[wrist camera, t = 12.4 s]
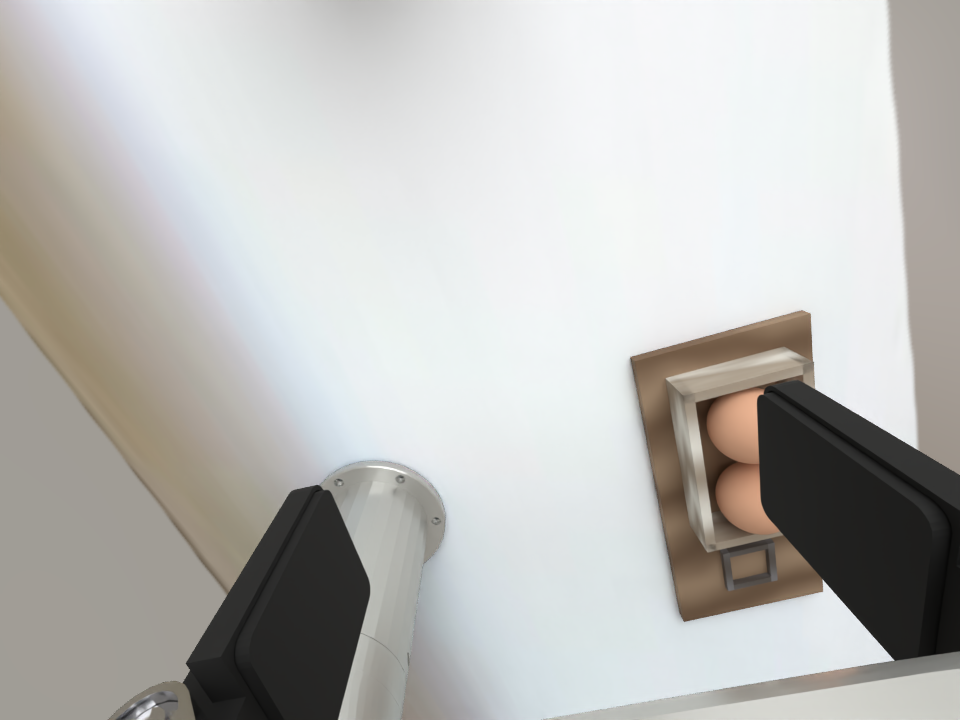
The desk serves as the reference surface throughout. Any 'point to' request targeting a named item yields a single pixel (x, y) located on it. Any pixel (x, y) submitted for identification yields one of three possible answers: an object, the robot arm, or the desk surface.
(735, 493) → the terracotta ball
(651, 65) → the desk surface
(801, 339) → the sorting board
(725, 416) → the ball
